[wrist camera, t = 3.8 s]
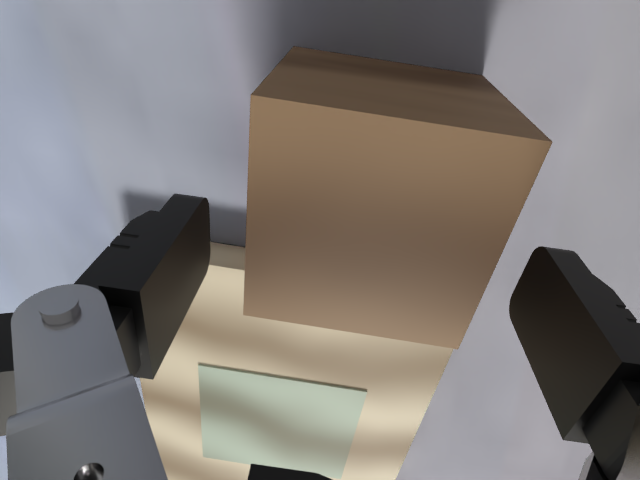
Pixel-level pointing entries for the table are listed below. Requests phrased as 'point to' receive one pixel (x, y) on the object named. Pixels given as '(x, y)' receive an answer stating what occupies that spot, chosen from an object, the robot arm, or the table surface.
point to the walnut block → (381, 194)
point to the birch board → (283, 391)
